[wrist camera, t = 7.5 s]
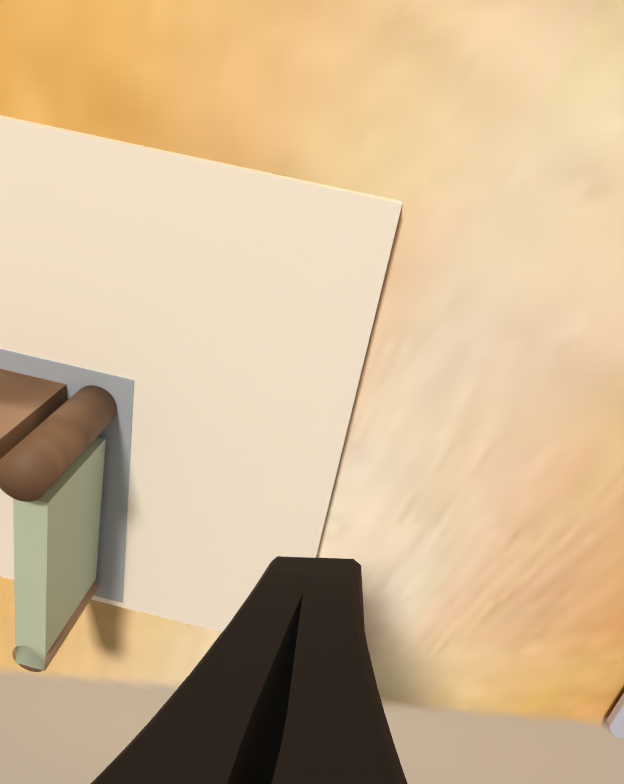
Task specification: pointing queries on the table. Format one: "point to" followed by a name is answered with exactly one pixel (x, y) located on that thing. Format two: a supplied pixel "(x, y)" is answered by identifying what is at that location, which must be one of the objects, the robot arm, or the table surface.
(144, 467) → the card
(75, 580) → the fence panel
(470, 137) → the table surface
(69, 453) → the fence
